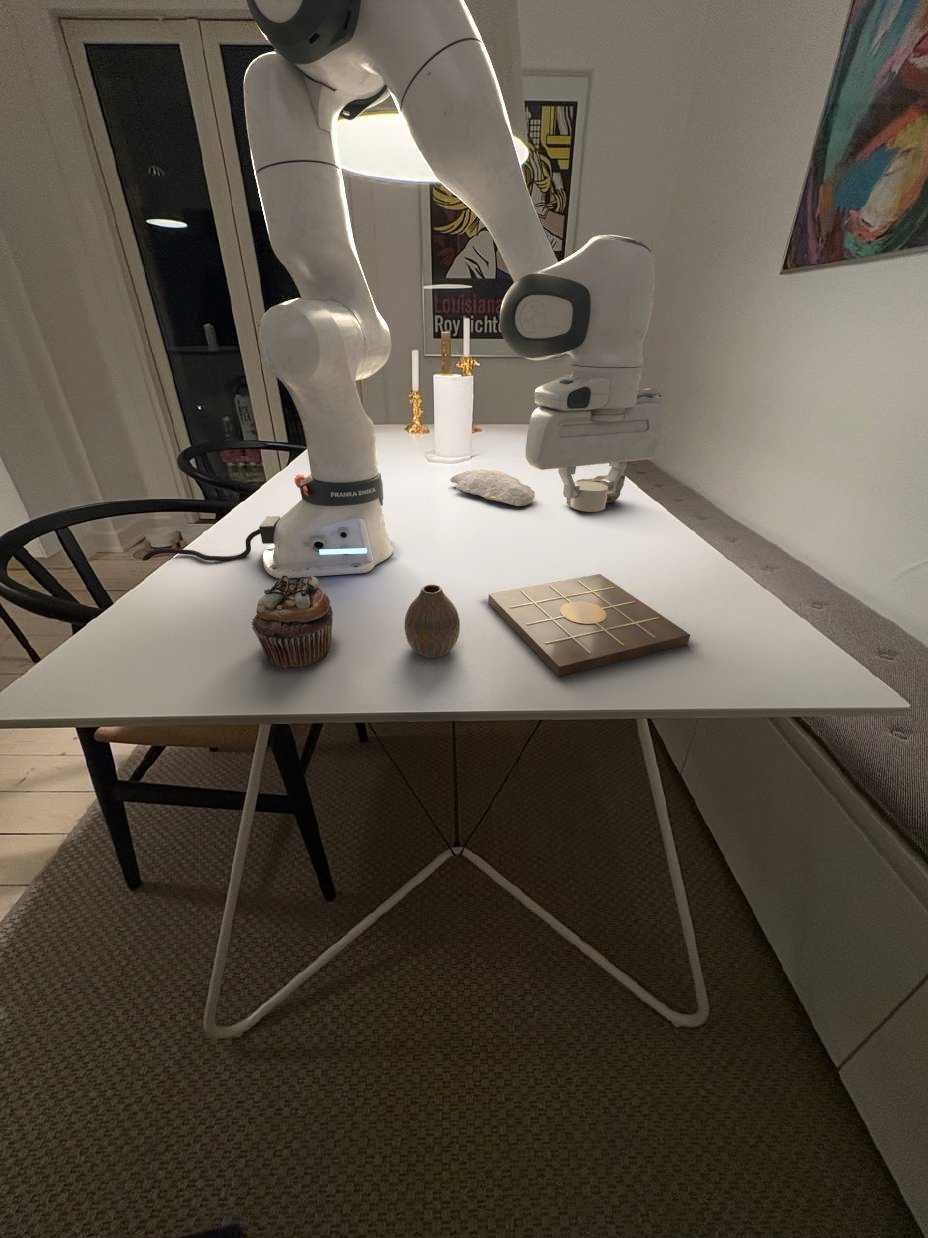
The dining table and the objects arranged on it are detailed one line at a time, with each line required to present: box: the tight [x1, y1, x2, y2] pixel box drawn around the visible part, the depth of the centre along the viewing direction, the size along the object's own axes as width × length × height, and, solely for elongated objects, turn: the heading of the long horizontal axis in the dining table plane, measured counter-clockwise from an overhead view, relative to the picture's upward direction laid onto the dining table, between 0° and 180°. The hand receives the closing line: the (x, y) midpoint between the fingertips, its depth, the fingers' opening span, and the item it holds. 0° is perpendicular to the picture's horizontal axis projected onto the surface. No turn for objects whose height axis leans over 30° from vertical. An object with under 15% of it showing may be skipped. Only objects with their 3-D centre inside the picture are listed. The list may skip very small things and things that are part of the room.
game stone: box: [569, 481, 608, 513], centre depth 74 cm, size 5×5×3 cm
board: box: [487, 573, 691, 678], centre depth 72 cm, size 20×20×2 cm
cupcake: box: [250, 576, 334, 669], centre depth 62 cm, size 10×10×10 cm
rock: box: [566, 473, 626, 508], centre depth 117 cm, size 17×7×10 cm
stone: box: [449, 469, 536, 507], centre depth 124 cm, size 16×6×25 cm
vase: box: [404, 584, 461, 659], centre depth 63 cm, size 7×7×9 cm
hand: (588, 494), depth 73 cm, fingers closed on game stone, 5 cm apart
